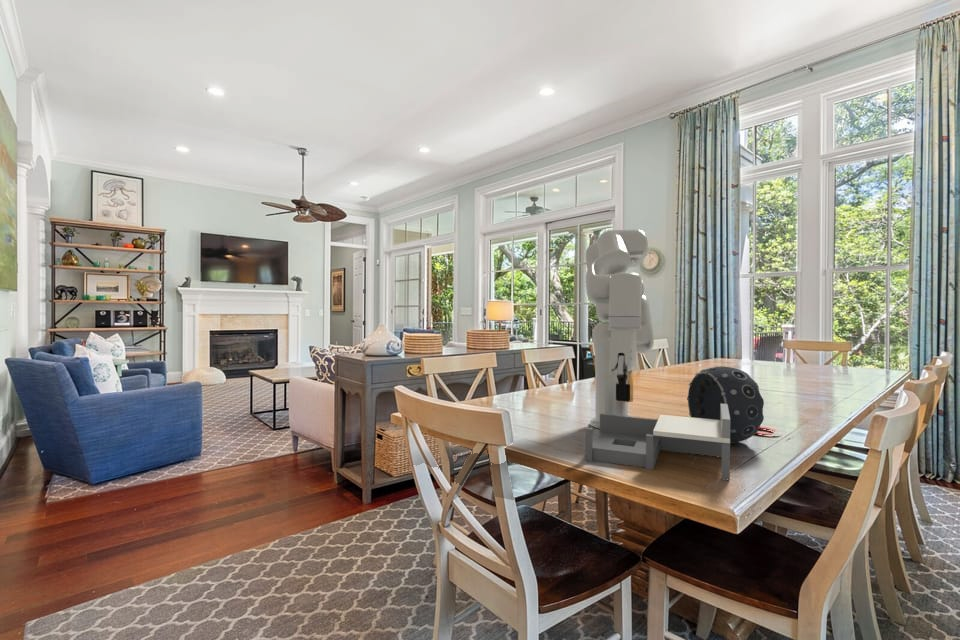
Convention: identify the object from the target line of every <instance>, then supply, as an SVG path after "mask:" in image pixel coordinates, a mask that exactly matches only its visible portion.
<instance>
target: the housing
mask: <svg viewBox="0 0 960 640" xmlns="http://www.w3.org/2000/svg"><path fill="white" fill-rule="evenodd" d="M658 419H659V418H650V417H639V416H629V415H628V416H619V415H609V414H600V429H599V432H598V433H597V434H596V435H595V436H594V427H586V428H585V429H584V430H585V439H584V440H585V443H584V444H585V451H584V452H585V454H584V455H585V458H584V459H585V461H586V462H590V463H591V462H593V461H595V462H603V463H609V464H610V463H611V464H617V465H622V464H623V465H624V466H630V465H631V467H637V466H638V467H639V468H644V467H645V470H648V471H654V469H655V466H656V463H657V460H658V457H659V454H660V451H662V450H663V451H664V452H672V453H679V452H680V453H679V454H687V453H690V454H689V455H695V454H701V455H700V456H704V455H709V456H708V457H712V456H719V457H718V458H720V457H722V458H721V480H722V479H728V480H730V481H731V478H730V477H731V461H730V460H731V443H721V442H711V441H702V440H693V439H684V438H674V437H665V436H656V435H653V430H654V428H655V426H656V423H657V421H658ZM623 465H622V466H623ZM638 467H637V468H638Z"/></svg>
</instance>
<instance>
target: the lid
mask: <svg viewBox="0 0 960 640" xmlns="http://www.w3.org/2000/svg"><path fill="white" fill-rule="evenodd" d="M657 419H658V421H657V423H656V426H655V428H654V430H653V435H656V436H665V437H674V438H684V439H693V440H702V441H711V442H721V443H730V415H729V410H728V404H721V403H720V420H714V419H703V418H692V417H691V416H679V415H668V414H660V415H659V417H658V418H657ZM730 444H731V443H730Z"/></svg>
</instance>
